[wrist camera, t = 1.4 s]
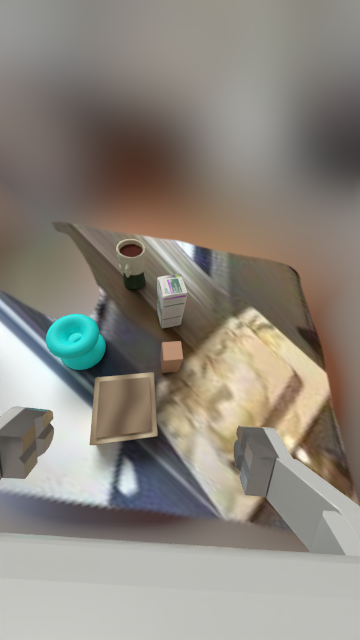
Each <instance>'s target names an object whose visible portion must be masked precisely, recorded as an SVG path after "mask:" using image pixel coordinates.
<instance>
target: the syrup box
mask: <svg viewBox="0 0 360 640" xmlns="http://www.w3.org/2000/svg"><path fill="white" fill-rule="evenodd" d="M187 294H188V293H187V290H186V287H185V285H184V282H183V279H182V276H181V274H176V275H168V276H162V277H158V278H157V314H158V318H159V322H160V325H161V328H168V327H173V326H178V325H181V322H182V317H183V313H184V308H185V303H186V298H187Z"/></svg>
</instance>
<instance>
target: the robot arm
mask: <svg viewBox="0 0 360 640" xmlns="http://www.w3.org/2000/svg"><path fill="white" fill-rule="evenodd" d="M52 420H53V412H52V411H51V410H44V409H35V408H24V407H13V408H11V409H10V410H8V411H7V412H6V413H5V414H3V415H2V416H1V417H0V480H1V478H21V479H25V478H26V477H27V476H28V474H29V473H30V472H31V470H32V469H33V468H34V466H35V465H36V464H37V457H38V456H40V455H42V454H43V453H45V452H46V450H47V449H48V448H49V446H50V444H51V441H52V439H53V434H54V427H53V426H52V425H51V424H50V422H51V421H52ZM236 434H237V437H238V440H237V441H236V442H235V444H234V460H235V464H236V468H237V469H238V470H239V471H240V472H241V473H240V481H241V484H242V488H243V491H244V494H245V495H251V496H260V497H267V500H268V501H269V502H270V503H271V505H272V506H273V507H274V508H275V509H276V511H277V512H278V513H279V514H280V515H281V517H282V518H283V519H284V520H285V522H286V523H287V524H288V525H289V526H290V528H291V529H292V530H293V531H294V532H295V534H296V535H297V536H298V537H299V538H300V540H301V541H302V542H303V543H304V544H305V545H306V547H307V548H308V549H309V551H310V553H303V552H287V551H273V550H258V549H243V548H227V547H211V546H195V545H182V544H165V543H150V542H134V541H120V540H105V539H90V538H74V537H59V536H45V535H29V534H15V533H0V640H360V506H358V505H357V504H356V503H354V502H353V501H352V500H350V499H349V498H348V497H346V496H345V495H344V494H342V493H341V492H340V491H338V490H337V489H336V488H334V487H333V486H332V485H330V484H329V483H328V482H326V481H325V480H323V479H322V478H321V477H319V476H318V475H317V474H315V473H314V472H313V471H311V470H310V469H309V468H307V467H306V466H305V465H303V464H302V463H301V462H299V461H298V460H294V459H293V458H292V456H291V455H290V453H289V452H288V450H287V448H286V447H285V445H284V444H283V442H282V440H281V439H280V437H279V436H278V434H277V432H276V431H275V429H273V428H265V427H261V428H260V427H247V426H238V428H237V433H236Z"/></svg>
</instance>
